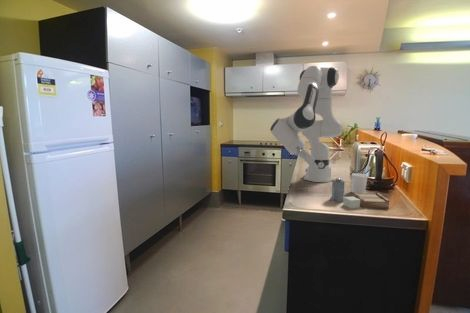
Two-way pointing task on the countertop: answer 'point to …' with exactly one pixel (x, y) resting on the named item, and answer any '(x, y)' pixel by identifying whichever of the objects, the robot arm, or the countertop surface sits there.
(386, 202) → the stand
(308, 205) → the countertop surface
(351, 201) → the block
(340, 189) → the housing
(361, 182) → the white cup
